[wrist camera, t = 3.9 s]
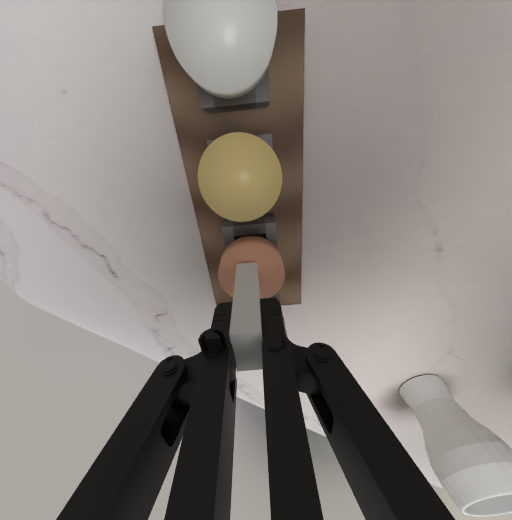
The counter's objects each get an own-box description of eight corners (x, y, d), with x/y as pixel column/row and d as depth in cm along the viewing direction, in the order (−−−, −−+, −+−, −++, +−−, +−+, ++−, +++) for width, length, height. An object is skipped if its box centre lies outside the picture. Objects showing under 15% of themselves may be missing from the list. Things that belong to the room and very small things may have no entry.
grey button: (183, 10, 13) (146, -63, 9) (266, 0, 13) (274, -80, 8) (201, 111, 16) (180, 97, 11) (271, 103, 16) (279, 86, 11)
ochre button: (206, 139, 17) (188, 137, 12) (272, 132, 16) (280, 127, 12) (217, 205, 19) (206, 225, 14) (275, 199, 19) (283, 218, 14)
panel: (160, 35, 17) (131, 2, 13) (300, 19, 16) (316, -21, 12) (219, 303, 30) (214, 327, 26) (298, 296, 29) (305, 320, 25)
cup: (383, 402, 42) (442, 518, 29) (402, 369, 37) (484, 491, 24) (435, 402, 43) (516, 517, 30) (460, 369, 38) (573, 489, 25)
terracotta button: (221, 224, 20) (212, 249, 15) (276, 219, 20) (284, 242, 15) (229, 271, 22) (223, 304, 18) (278, 267, 22) (285, 299, 18)
